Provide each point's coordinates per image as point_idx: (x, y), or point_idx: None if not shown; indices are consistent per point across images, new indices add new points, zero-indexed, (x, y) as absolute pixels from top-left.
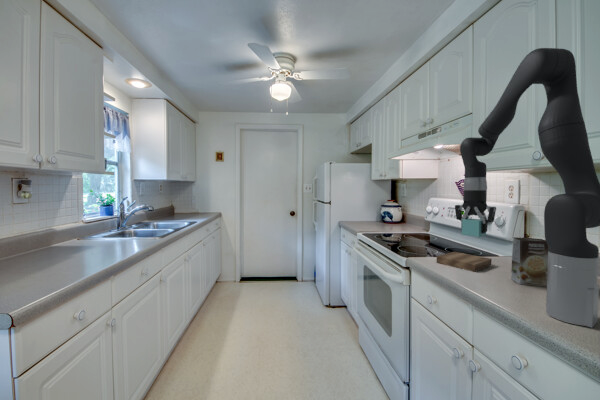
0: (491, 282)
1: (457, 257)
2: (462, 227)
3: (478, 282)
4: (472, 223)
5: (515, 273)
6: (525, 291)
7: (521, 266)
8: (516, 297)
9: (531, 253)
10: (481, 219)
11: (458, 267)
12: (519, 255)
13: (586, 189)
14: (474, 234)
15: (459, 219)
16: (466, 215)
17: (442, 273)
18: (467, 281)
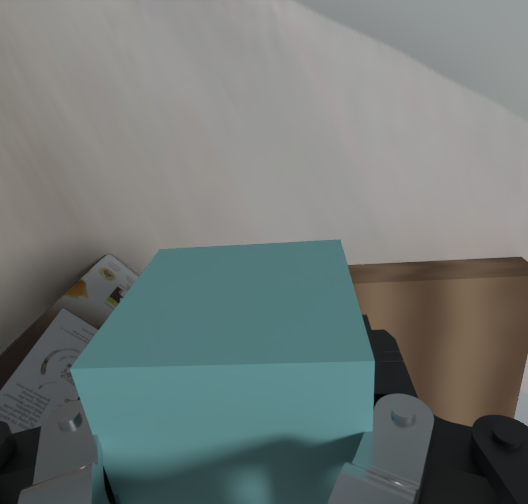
0: (174, 173)
1: (439, 349)
2: (345, 281)
3: (202, 113)
4: (194, 333)
5: (122, 293)
6: (44, 179)
7: (62, 296)
8: (3, 55)
9: None
10: (79, 452)
11: (388, 264)
12: (45, 338)
13: None
14: (199, 256)
15: (470, 433)
16: (333, 491)
17: (396, 83)
18: (238, 73)
